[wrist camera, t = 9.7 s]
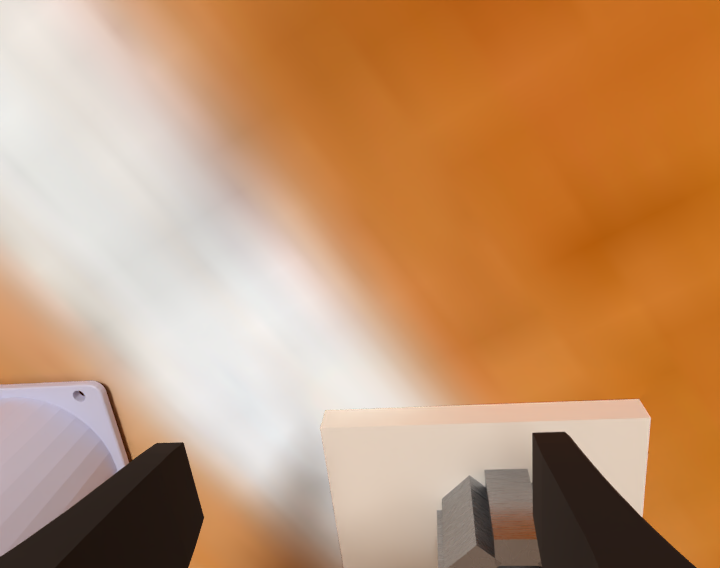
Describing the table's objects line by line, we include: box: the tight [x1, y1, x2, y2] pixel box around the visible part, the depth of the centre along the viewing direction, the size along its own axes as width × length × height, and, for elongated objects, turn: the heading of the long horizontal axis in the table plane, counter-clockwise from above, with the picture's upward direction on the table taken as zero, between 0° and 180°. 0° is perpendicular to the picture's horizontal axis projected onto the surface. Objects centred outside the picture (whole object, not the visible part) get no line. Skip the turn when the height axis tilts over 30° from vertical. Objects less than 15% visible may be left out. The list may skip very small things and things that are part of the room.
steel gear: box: [437, 469, 542, 568], centre depth 21 cm, size 6×6×3 cm
